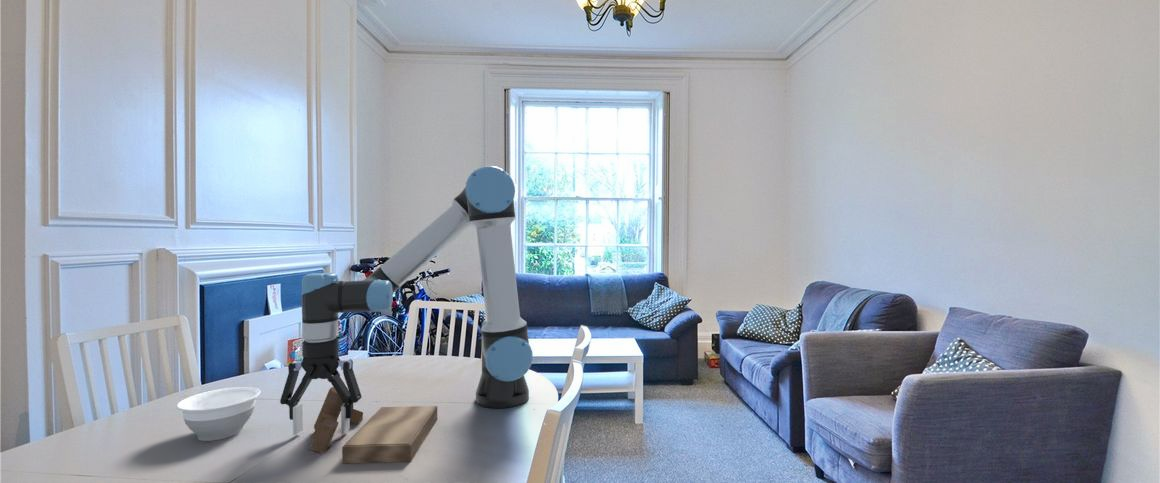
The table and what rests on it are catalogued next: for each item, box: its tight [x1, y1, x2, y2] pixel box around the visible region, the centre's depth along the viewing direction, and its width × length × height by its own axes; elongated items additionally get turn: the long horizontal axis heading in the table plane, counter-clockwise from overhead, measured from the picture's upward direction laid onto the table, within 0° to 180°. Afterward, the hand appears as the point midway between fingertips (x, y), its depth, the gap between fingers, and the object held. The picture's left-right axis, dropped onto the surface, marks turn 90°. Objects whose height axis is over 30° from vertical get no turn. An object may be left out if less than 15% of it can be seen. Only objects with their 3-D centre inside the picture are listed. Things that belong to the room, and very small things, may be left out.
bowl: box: [176, 386, 262, 442], centre depth 112 cm, size 16×16×8 cm
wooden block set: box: [309, 386, 364, 453], centre depth 110 cm, size 18×9×10 cm, turn 4°
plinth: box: [341, 405, 438, 464], centre depth 108 cm, size 14×22×4 cm, turn 3°
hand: (321, 432), depth 110 cm, fingers open, 10 cm apart
